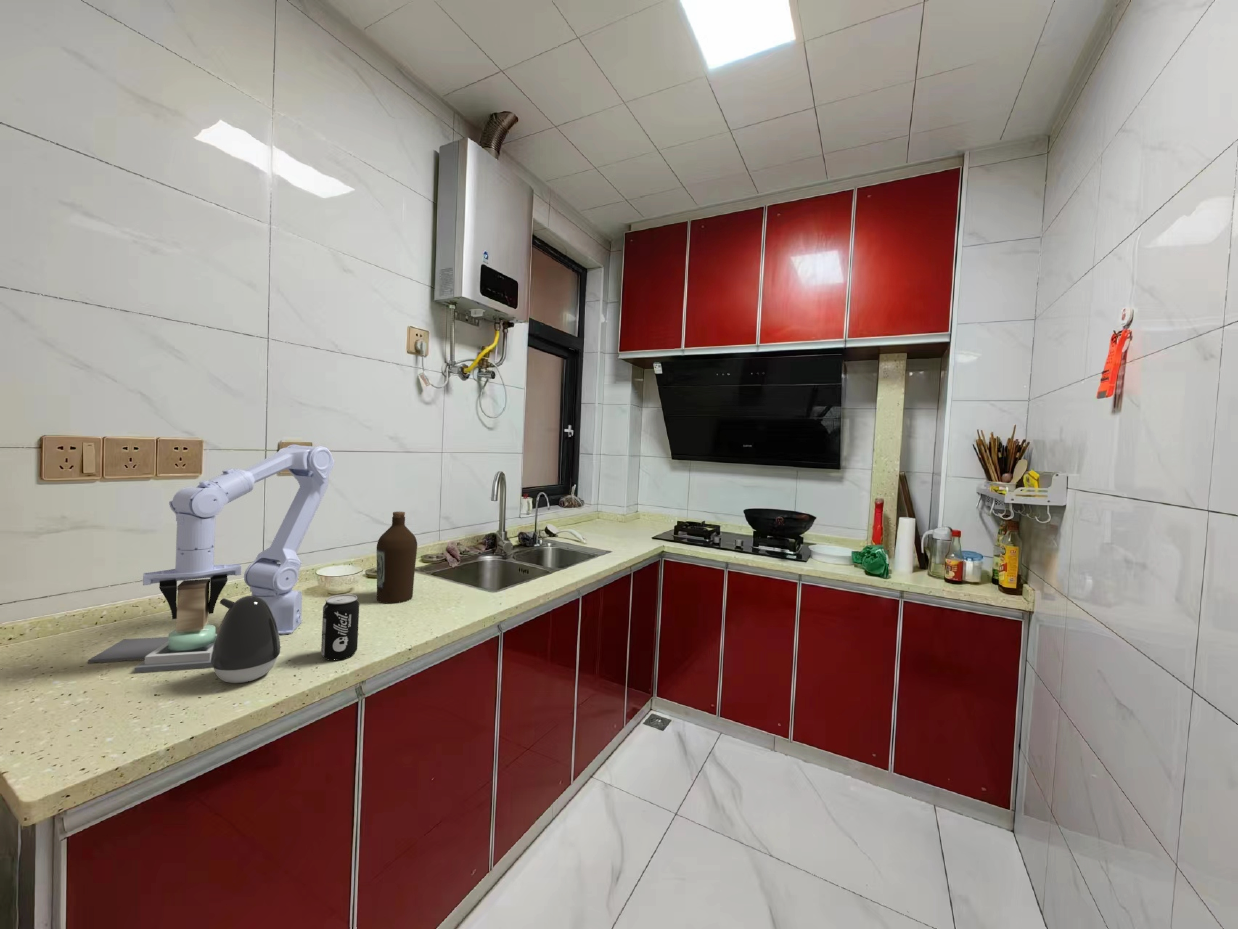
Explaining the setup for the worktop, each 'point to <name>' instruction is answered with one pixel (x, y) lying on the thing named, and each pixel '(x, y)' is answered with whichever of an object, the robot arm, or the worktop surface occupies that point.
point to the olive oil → (396, 562)
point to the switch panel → (176, 659)
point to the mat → (130, 649)
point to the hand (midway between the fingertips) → (193, 614)
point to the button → (191, 638)
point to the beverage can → (340, 626)
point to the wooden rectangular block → (192, 604)
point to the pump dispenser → (245, 641)
